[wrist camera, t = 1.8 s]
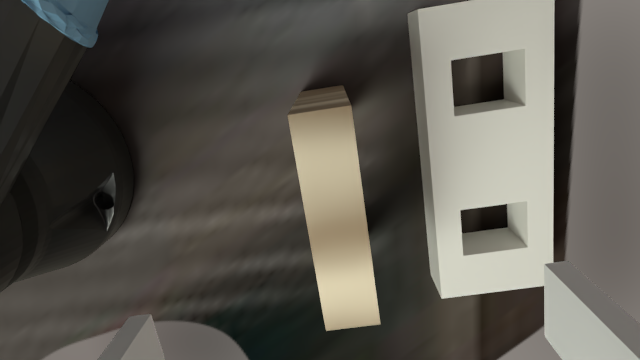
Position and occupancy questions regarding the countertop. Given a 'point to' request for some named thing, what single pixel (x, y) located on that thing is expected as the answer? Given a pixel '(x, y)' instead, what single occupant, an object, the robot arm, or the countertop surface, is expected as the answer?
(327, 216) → the clip
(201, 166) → the countertop surface
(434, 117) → the white flat block
